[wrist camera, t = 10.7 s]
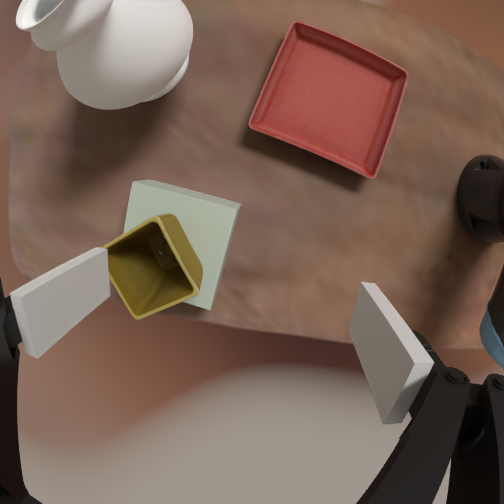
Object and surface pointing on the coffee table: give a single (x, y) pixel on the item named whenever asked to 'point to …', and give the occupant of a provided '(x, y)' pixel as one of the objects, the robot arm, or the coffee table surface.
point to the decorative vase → (112, 46)
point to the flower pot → (154, 266)
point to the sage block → (190, 226)
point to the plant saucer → (331, 98)
